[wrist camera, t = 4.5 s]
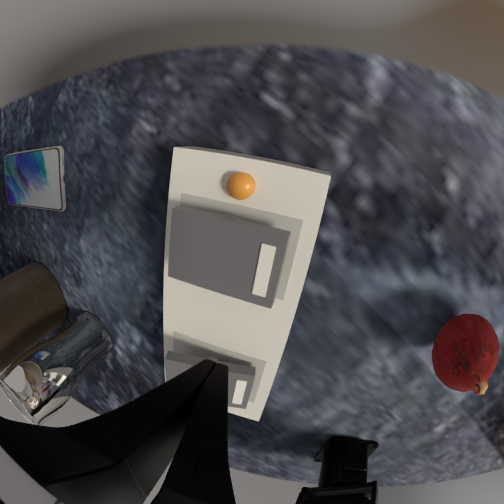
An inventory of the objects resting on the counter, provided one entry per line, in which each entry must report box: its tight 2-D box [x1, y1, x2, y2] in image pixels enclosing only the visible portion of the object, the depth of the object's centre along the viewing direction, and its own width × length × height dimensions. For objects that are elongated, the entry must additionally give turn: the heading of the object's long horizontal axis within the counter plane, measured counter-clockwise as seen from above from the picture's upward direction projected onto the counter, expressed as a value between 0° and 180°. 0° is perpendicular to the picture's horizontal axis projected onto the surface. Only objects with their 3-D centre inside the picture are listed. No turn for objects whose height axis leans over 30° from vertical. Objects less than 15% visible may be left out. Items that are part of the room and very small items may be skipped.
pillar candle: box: [0, 262, 67, 372], centre depth 25 cm, size 10×10×15 cm
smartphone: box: [4, 146, 66, 211], centre depth 26 cm, size 7×1×15 cm
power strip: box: [163, 146, 331, 421], centre depth 23 cm, size 30×10×4 cm, turn 171°
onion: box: [432, 314, 499, 395], centre depth 16 cm, size 6×6×8 cm
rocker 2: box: [165, 351, 256, 409], centre depth 22 cm, size 5×7×2 cm, turn 81°
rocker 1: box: [168, 205, 291, 309], centre depth 17 cm, size 5×7×2 cm, turn 81°
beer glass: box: [0, 312, 113, 426], centre depth 24 cm, size 7×7×15 cm
